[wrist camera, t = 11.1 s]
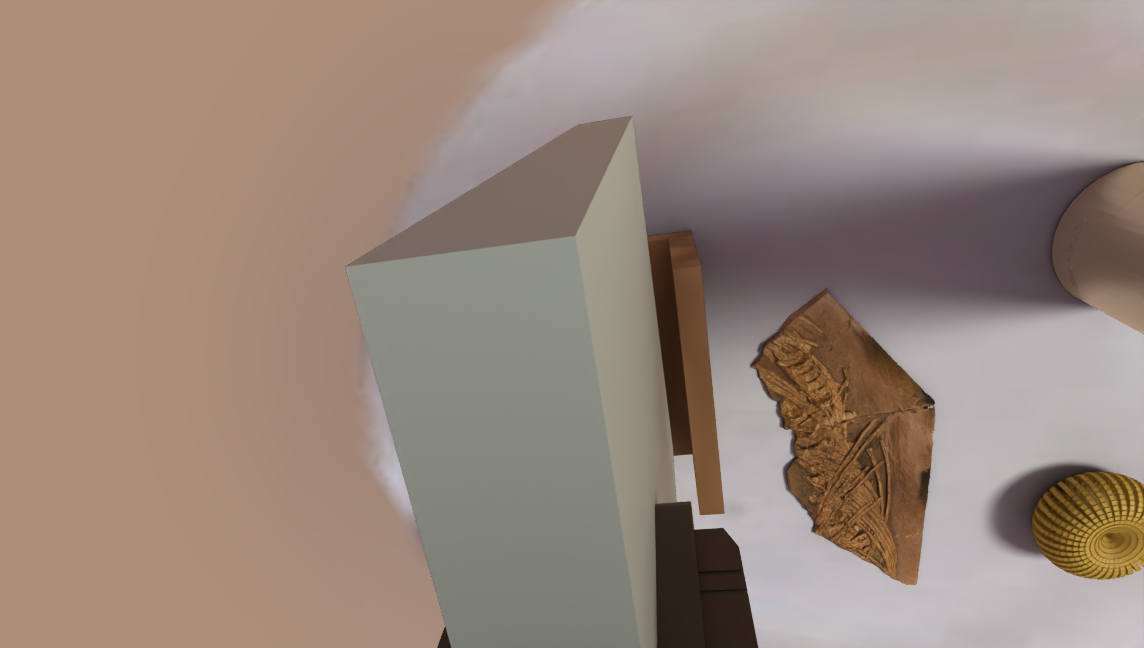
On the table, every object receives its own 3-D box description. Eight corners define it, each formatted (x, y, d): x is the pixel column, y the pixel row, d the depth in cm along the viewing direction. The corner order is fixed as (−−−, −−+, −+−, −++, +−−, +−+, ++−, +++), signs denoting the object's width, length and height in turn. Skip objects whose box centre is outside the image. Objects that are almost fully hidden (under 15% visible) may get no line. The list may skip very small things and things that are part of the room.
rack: (690, 230, 43) (701, 266, 35) (711, 441, 49) (724, 513, 41) (457, 261, 46) (418, 300, 38) (502, 458, 51) (476, 529, 43)
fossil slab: (736, 313, 45) (738, 319, 44) (903, 264, 43) (909, 269, 42) (822, 597, 53) (826, 607, 52) (966, 569, 51) (973, 579, 50)
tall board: (632, 115, 24) (575, 235, 5) (673, 450, 28) (720, 1148, 10) (578, 124, 24) (345, 266, 6) (627, 453, 29) (588, 1137, 10)
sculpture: (1092, 610, 46) (1027, 538, 44) (1058, 570, 50) (998, 502, 48) (1209, 551, 43) (1145, 472, 42) (1164, 513, 47) (1104, 439, 46)
